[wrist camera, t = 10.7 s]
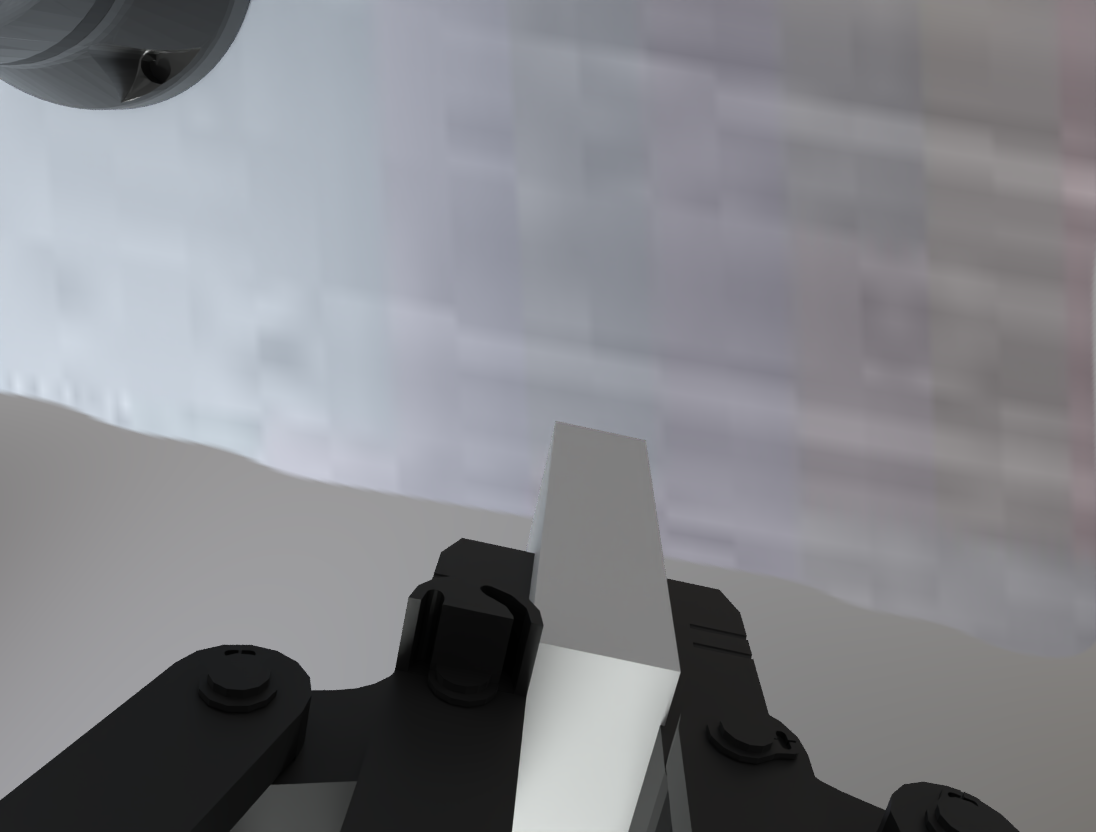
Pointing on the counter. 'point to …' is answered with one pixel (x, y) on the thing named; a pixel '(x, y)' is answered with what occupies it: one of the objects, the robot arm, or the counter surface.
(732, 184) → the counter surface
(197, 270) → the counter surface
